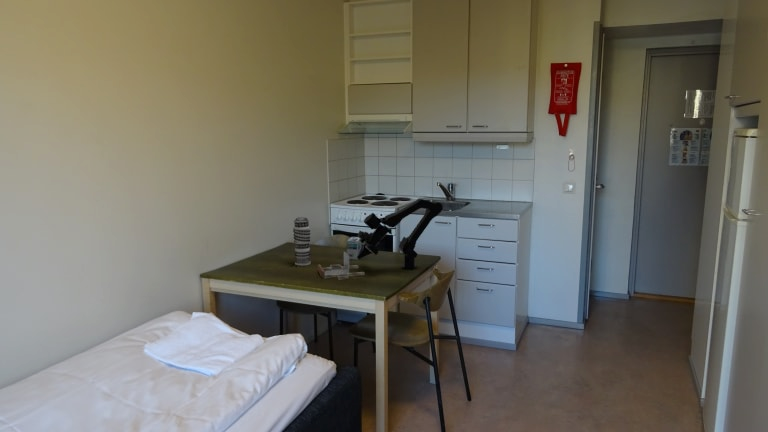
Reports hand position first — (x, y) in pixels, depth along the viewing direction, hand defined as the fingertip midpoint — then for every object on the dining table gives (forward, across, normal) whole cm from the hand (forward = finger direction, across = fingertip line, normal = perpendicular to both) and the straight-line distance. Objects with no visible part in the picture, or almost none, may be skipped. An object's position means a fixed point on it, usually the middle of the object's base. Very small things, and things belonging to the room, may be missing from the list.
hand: (357, 258), depth 264 cm
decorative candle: (+22, -24, -13) cm, 36 cm away
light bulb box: (+2, -29, +9) cm, 31 cm away
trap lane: (+11, 0, -1) cm, 11 cm away
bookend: (+13, 0, -3) cm, 13 cm away
